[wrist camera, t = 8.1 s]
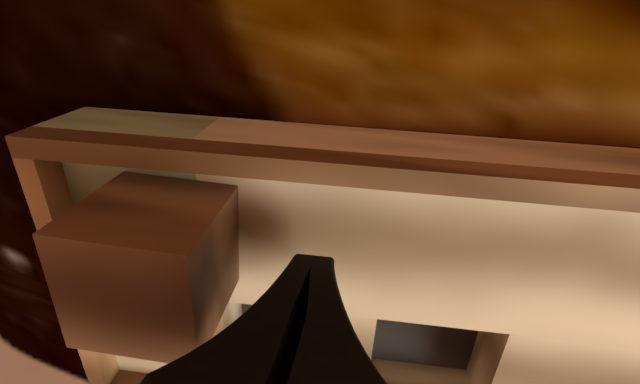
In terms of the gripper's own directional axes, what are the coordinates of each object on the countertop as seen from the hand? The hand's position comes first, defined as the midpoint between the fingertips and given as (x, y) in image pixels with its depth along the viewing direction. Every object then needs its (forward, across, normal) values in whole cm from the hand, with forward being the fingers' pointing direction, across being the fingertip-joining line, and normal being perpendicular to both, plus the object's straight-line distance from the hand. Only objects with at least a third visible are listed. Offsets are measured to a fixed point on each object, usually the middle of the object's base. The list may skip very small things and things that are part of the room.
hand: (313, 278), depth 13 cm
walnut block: (+2, +6, 0) cm, 6 cm away
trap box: (+5, -2, +3) cm, 6 cm away
